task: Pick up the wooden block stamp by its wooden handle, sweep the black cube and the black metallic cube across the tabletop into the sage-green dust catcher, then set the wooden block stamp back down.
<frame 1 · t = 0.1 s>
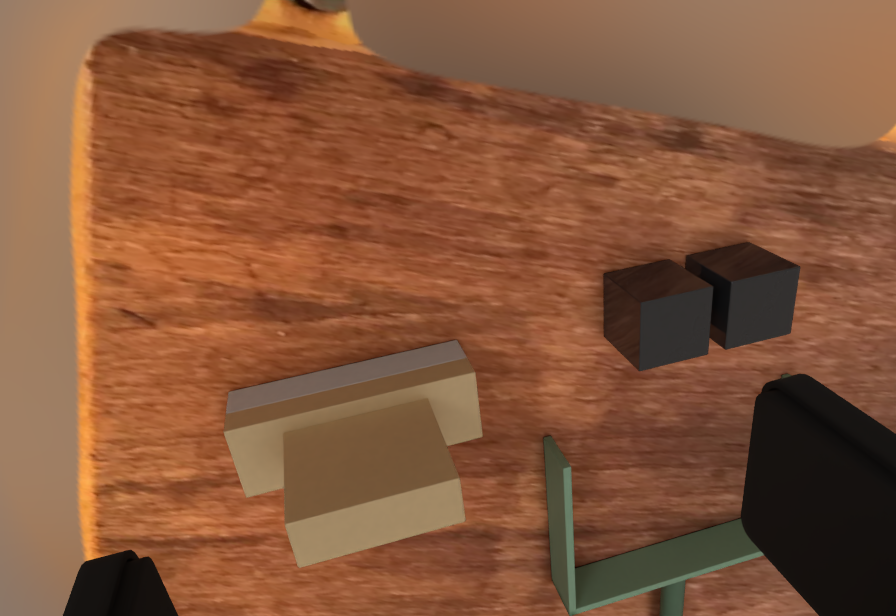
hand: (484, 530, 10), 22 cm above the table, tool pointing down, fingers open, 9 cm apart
black metallic cube: (715, 280, 36), on the table
dustpan: (666, 477, 42), on the table
wooden block stamp: (353, 396, 33), on the table
black cube: (636, 298, 35), on the table
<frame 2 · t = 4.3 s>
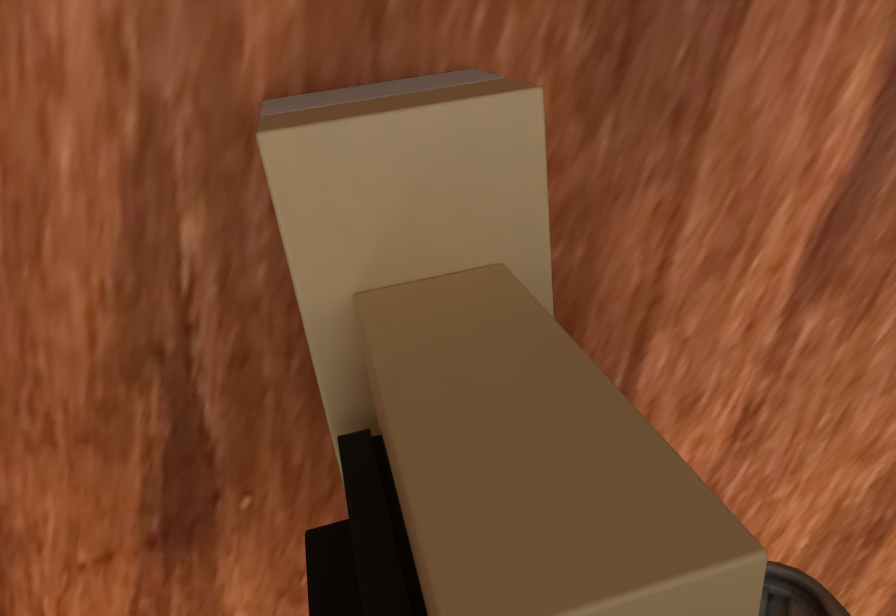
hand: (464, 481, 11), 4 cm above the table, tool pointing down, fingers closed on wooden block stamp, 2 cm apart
wooden block stamp: (416, 360, 14), on the table, touching gripper
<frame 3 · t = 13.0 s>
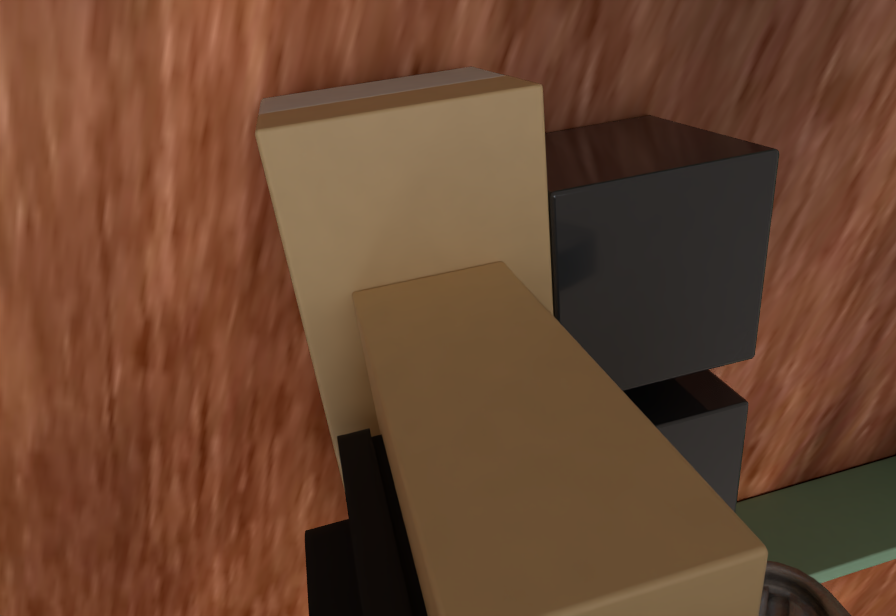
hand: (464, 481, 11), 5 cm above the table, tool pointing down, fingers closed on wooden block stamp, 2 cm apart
black metallic cube: (568, 218, 14), on the table
dustpan: (774, 268, 16), on the table
wooden block stamp: (415, 359, 14), on the table, touching gripper, black cube
black cube: (573, 399, 16), on the table, touching wooden block stamp
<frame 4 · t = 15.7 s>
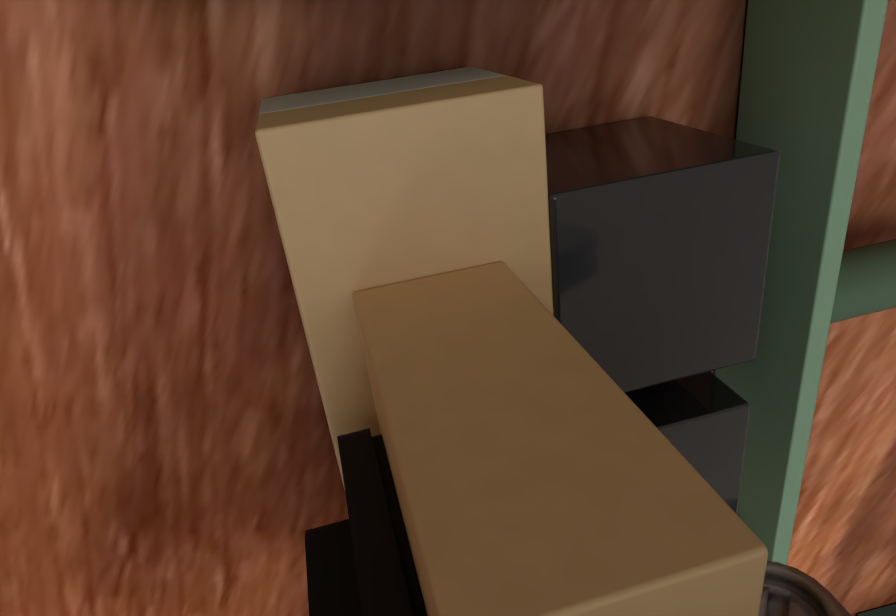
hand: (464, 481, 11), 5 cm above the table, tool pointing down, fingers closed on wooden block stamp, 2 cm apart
black metallic cube: (569, 219, 14), on the table
dustpan: (497, 331, 15), on the table
wooden block stamp: (415, 359, 14), on the table, touching gripper, black cube
black cube: (574, 400, 16), on the table, touching wooden block stamp
when the fingers open (4 cm above the table, at t = 22.0 s): wooden block stamp stays where it is, on the table.
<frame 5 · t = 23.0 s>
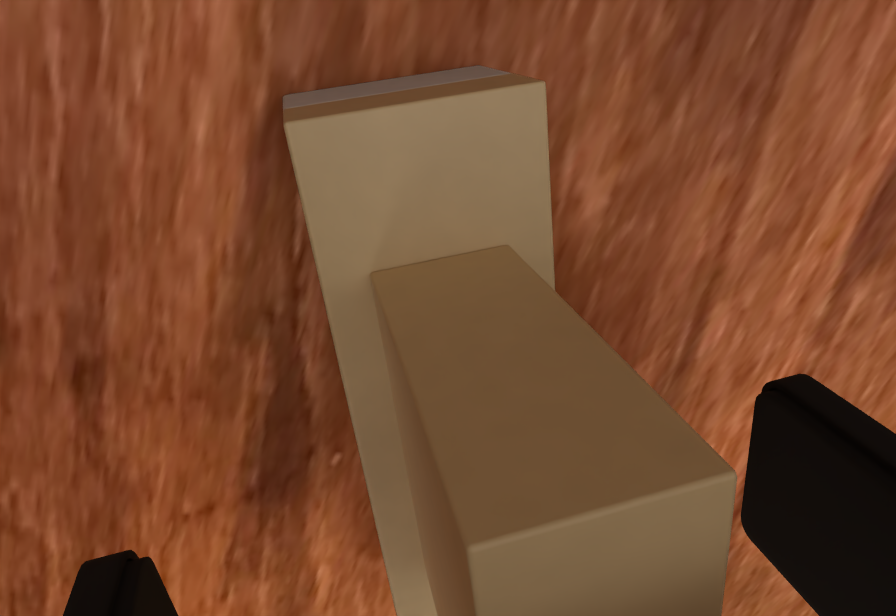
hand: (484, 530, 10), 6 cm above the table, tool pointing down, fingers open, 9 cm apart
wooden block stamp: (425, 342, 15), on the table
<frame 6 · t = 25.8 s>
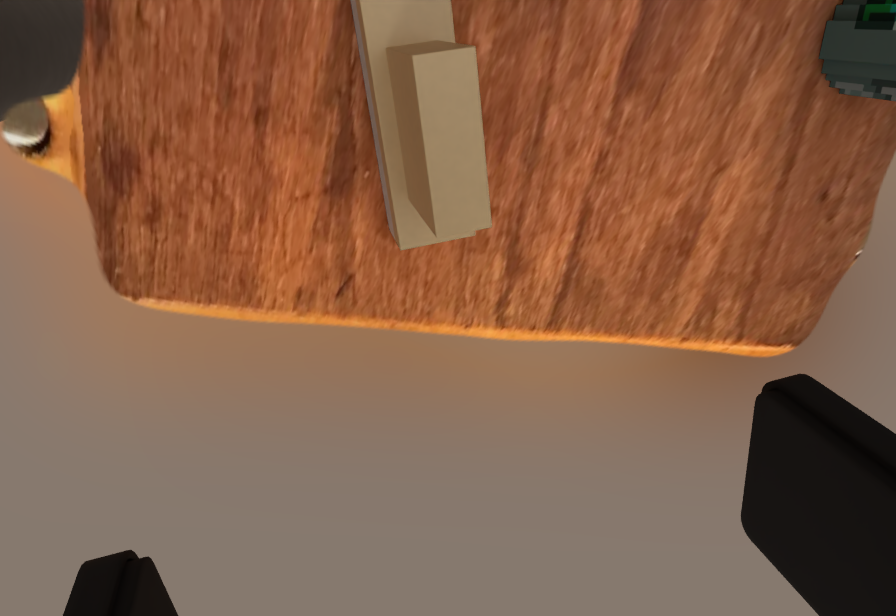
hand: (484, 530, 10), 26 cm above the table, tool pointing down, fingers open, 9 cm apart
can: (863, 38, 37), on the table
wooden block stamp: (408, 113, 32), on the table
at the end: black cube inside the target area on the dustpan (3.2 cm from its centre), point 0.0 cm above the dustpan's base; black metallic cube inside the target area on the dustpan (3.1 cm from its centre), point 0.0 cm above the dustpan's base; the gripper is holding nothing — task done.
